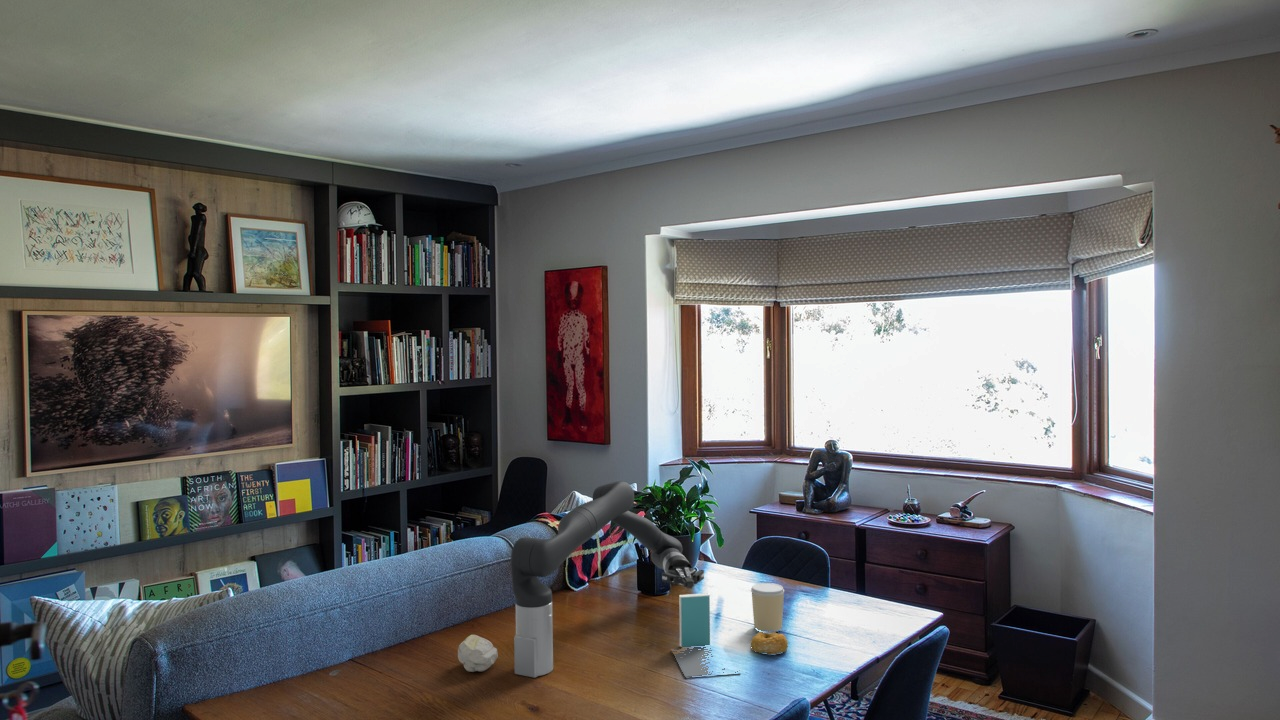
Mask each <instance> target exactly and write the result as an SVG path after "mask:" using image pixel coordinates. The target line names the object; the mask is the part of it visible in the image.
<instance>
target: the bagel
mask: <svg viewBox="0 0 1280 720" xmlns="http://www.w3.org/2000/svg"><path fill="white" fill-rule="evenodd" d="M788 643H789V642H788V639H787V637H786V636H785V635H784V634H783V633H775V632H773V633H763V632H757V633H756V634H755V635H754V636H753V637H752V639H751V642H750V648H751V647H752V649H753V650H754V651H756V652H759V653H758V654H760V653H767V654H777V653H781V652H784V651H785V652H786V651H787V649H788V648H789V646H788V645H789V644H788ZM752 649H751V650H752ZM753 650H752V651H753ZM756 652H755V653H756ZM785 652H784V653H785Z"/></svg>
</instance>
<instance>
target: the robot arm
mask: <svg viewBox="0 0 1280 720" xmlns="http://www.w3.org/2000/svg"><path fill="white" fill-rule="evenodd" d="M634 502H635V492H634V489H633V487H632V486H631V484H629V483H628V482H626V481H621V480H619V481H614V482H610V483H606V484H602V485H599V486H597V487H596V488H594V490H593V493H592V500H589V501H587V502H584V503H581V504H580V505H578V506H575V507H574V508H573V509H571V510H570V511H568V512H566V514H564V515H563V516H562V517H561V519H560V520H559V524H558V527H557V534H556V535H554V536H553V537H551V538H548V539H547V538H545V539H543V538H537V537H526V536H524V537H520V538H518V539H517V540H516V541H515V543H514V544H513V547H512V550H511V554H510V555H511V556H510V569H511V570H510V571H511V585H512V586H511V587H512V592H513V596H514V599H515V635H514V637H513V643H514V644H513V645H514V646H513V648H514V657H513V659H514V674H515V675H519V676H524V677H530V678H537V677H541V676H544V675H547V674H549V673H551V672H552V671H553V670H554V645H553V644H554V637H553V635H554V633H553V631H554V629H553V592H552V590H551V588H550V587H549V586H547V585H546V584H544V583H543V582H542V581H541V580H540V579H539V578H546V577H549V576H550V575H552V574H553V573H554V572H555V571H556V570H557V569H558V568H559V567H561V565H562V564H563V563H564V562H565V561H566V560H567V559H568V557H570V555H571V554H573V553H574V552H575V551H576V550H577V549H578V548H580V547H581V546H582V545H583V544H585V543H586V542H588V541H589V540H590V539H591V538H592V537H594V536H595V535H596V534H597V533H598V532H599V531H600V530H602V529H603V528H605V527H606V526H607V525H608V524H609V523H610V522H612V523H614V524H616V525H617V526H618V527H620V528H622V529H623V530H625V531H626V532H628V533H629V534H630V535H632V536H633V538H635V539H636V540H637V541H638V542H640V544H641V545H642V546H643V547H644V548H645V549H647V550H648V551H651V552H650V553H651V554H650V559H651V562H652V563H653V564H654V565H655V566H656V567H658V569H660V570H661V569H662V570H664V571H663V572H662V573H661V580H662V583H666V584H670V585H674V586H679V585H681V586H683V588H686V590H687V589H688V590H689V589H693V587H694V586H695V585H696V584H698V583H700V582H701V581H702V580H703V581H704V579H705V570H704V569H699V570H696V569H695V568H693V566H692V564H691V562H689V560H688V559H687V558H686V557H685V555H683V545H682V542H680V540H679V539H677V538H676V537H673V536H672V535H670V534H667V533H665V532H663V531H662V530H660V528H659V527H657V525H655V523H654V522H652V521H651V520H650V519H648V518H646V517H645V516H642V515H641V514H640V515H639V514H637V513H635V512H632V511H630V510H631V508H632V506H633V504H634Z"/></svg>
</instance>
